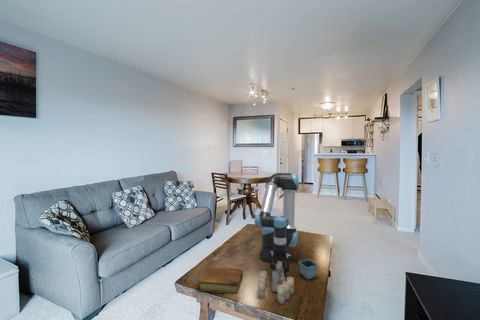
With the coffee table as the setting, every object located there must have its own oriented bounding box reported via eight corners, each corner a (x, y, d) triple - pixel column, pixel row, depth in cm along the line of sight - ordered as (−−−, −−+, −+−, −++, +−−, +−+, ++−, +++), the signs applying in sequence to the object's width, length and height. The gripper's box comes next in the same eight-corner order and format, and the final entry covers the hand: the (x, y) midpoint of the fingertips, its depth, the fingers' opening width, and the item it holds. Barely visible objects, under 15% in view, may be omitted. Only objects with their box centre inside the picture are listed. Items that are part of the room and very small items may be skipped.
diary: (242, 278, 150) (242, 269, 150) (237, 294, 131) (237, 284, 131) (208, 274, 153) (208, 266, 153) (198, 290, 135) (198, 280, 135)
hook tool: (277, 279, 145) (277, 260, 145) (283, 281, 144) (283, 262, 143) (271, 290, 134) (271, 269, 134) (278, 292, 132) (278, 271, 132)
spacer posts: (261, 283, 142) (261, 270, 142) (294, 291, 134) (294, 277, 134) (252, 296, 129) (252, 281, 129) (288, 306, 121) (288, 290, 121)
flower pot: (307, 282, 144) (307, 267, 144) (298, 275, 152) (298, 261, 152) (318, 279, 148) (318, 264, 148) (308, 272, 156) (309, 259, 156)
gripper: (264, 243, 143) (264, 280, 143) (292, 247, 135) (292, 287, 136) (268, 239, 149) (268, 275, 150) (295, 243, 142) (295, 281, 143)
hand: (279, 281), depth 143 cm, fingers closed on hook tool, 4 cm apart
